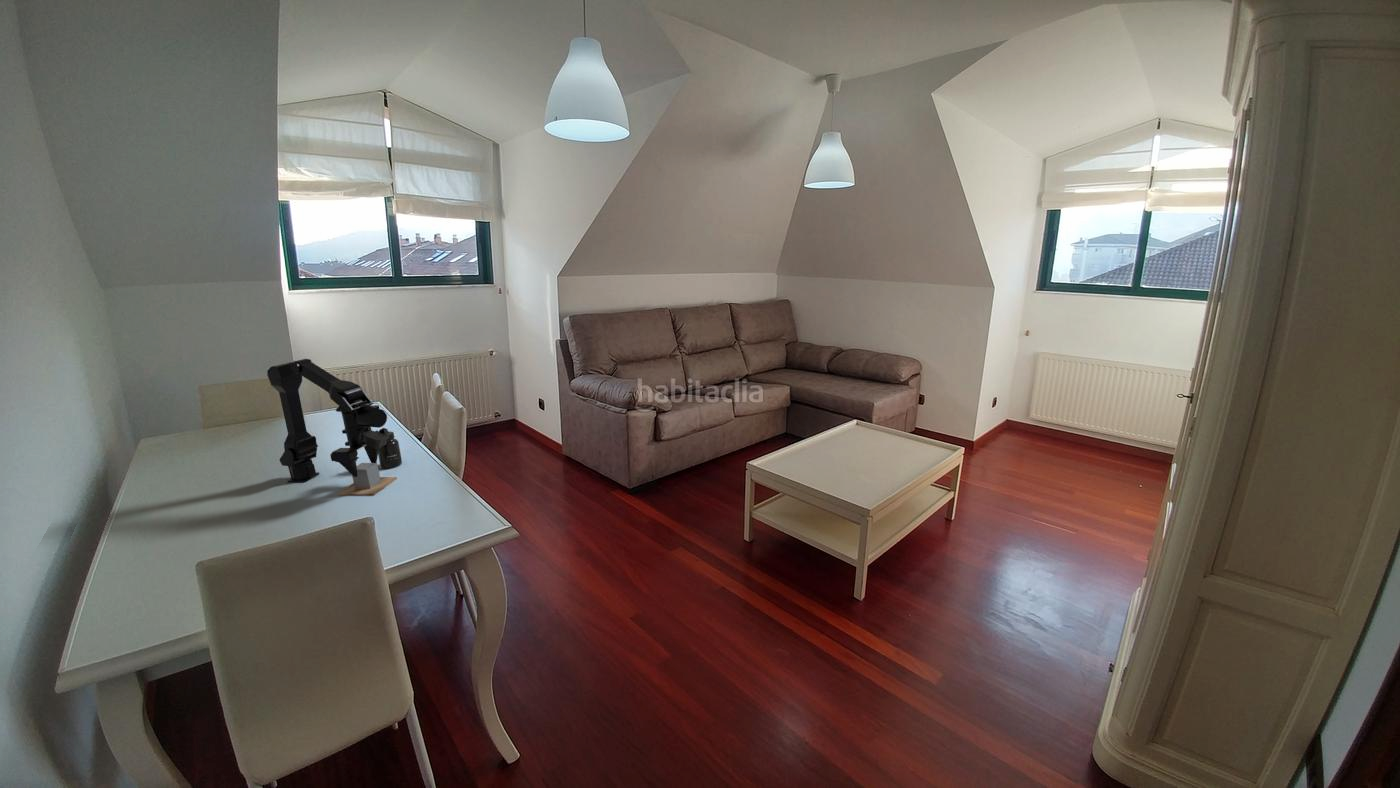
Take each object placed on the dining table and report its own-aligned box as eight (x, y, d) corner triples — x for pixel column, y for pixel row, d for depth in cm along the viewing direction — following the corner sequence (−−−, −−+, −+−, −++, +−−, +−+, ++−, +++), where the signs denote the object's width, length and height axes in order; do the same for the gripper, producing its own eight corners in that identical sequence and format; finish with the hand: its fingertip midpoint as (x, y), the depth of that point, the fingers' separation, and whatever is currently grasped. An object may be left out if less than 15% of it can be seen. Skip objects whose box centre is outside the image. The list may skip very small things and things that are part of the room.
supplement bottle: (392, 469, 187) (386, 437, 183) (376, 468, 188) (369, 436, 185) (407, 462, 193) (400, 430, 190) (390, 460, 194) (384, 429, 191)
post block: (337, 495, 169) (333, 478, 167) (363, 478, 180) (359, 463, 179) (374, 495, 168) (370, 479, 166) (397, 478, 179) (394, 463, 178)
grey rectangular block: (354, 488, 172) (350, 469, 170) (365, 481, 176) (361, 462, 175) (370, 488, 171) (366, 469, 169) (380, 481, 176) (376, 462, 174)
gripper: (359, 435, 158) (370, 483, 163) (397, 415, 176) (406, 459, 181) (324, 435, 159) (335, 483, 164) (365, 415, 177) (374, 459, 181)
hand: (365, 470), depth 172 cm, fingers open, 9 cm apart
